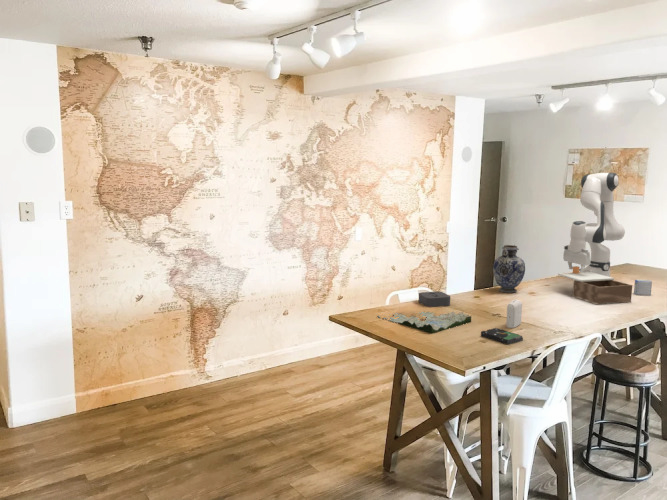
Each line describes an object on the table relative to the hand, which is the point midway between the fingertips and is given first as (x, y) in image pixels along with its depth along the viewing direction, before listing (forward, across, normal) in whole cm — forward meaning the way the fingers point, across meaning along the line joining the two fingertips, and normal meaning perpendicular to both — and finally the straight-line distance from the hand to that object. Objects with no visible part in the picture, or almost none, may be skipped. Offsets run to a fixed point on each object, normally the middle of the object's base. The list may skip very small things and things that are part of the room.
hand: (576, 270), depth 322 cm
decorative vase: (+13, +10, +40) cm, 43 cm away
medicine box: (+13, -18, -32) cm, 39 cm away
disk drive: (+13, -72, +94) cm, 119 cm away
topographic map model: (+14, -37, +116) cm, 122 cm away
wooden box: (+13, -22, 0) cm, 26 cm away
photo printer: (+13, -57, +78) cm, 97 cm away
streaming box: (+13, -8, +97) cm, 98 cm away
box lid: (+3, -8, 0) cm, 9 cm away
